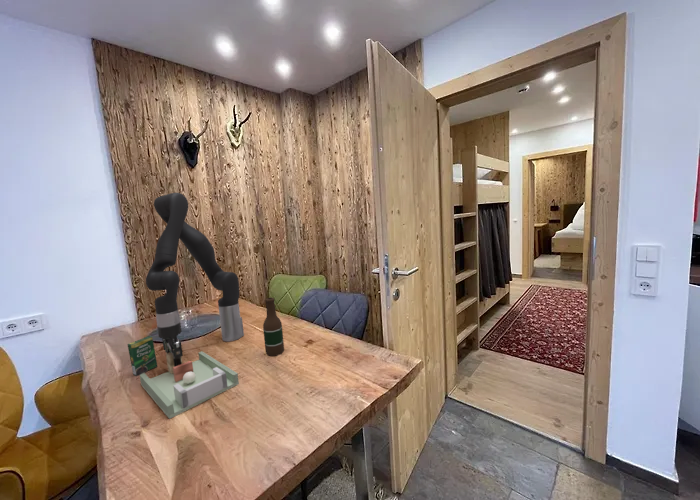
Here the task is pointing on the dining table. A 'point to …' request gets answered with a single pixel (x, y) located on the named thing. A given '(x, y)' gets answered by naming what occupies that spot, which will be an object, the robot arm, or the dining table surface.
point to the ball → (189, 377)
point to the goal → (200, 389)
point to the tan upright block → (178, 367)
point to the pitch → (184, 384)
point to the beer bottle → (272, 330)
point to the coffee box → (142, 355)
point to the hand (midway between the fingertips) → (174, 363)
